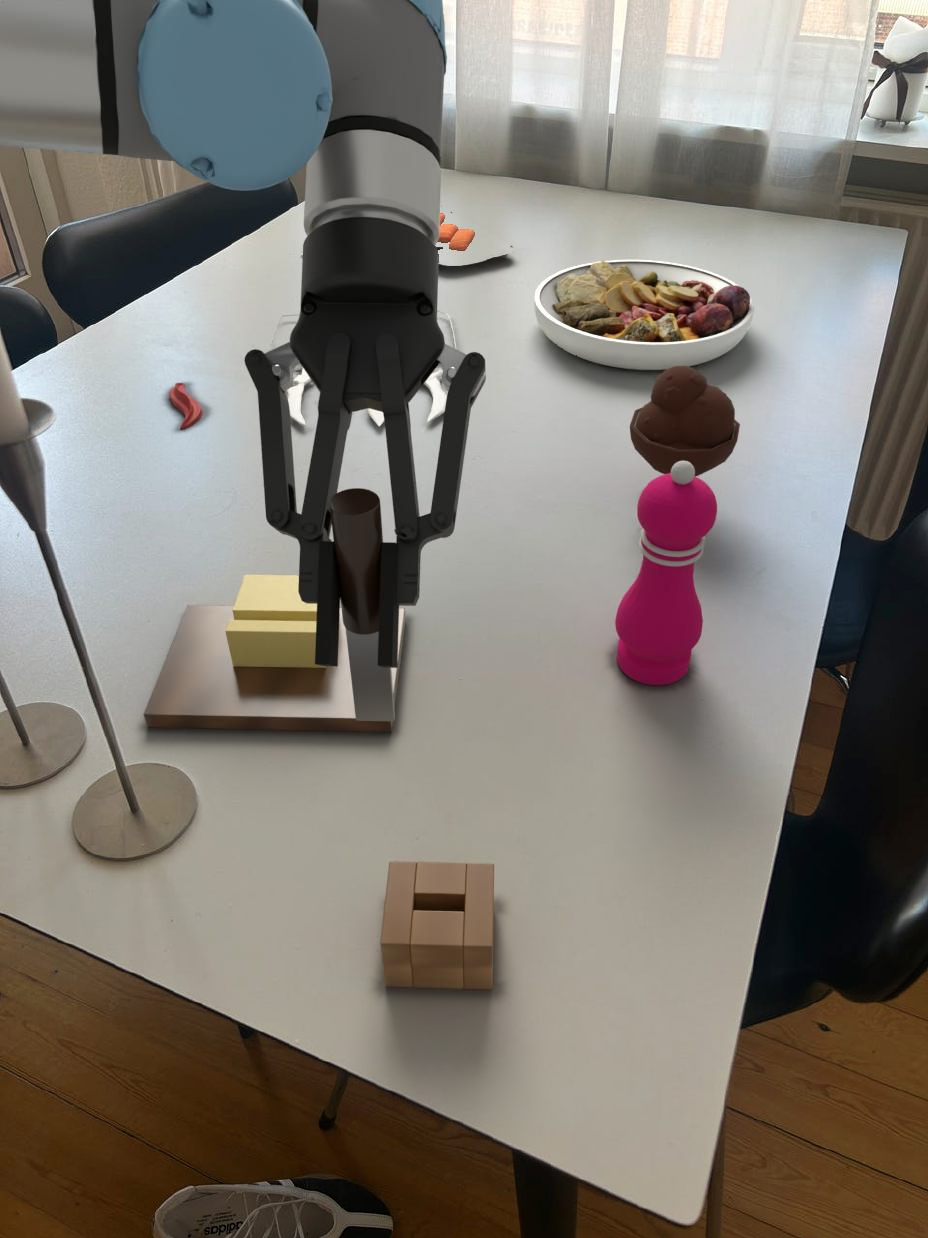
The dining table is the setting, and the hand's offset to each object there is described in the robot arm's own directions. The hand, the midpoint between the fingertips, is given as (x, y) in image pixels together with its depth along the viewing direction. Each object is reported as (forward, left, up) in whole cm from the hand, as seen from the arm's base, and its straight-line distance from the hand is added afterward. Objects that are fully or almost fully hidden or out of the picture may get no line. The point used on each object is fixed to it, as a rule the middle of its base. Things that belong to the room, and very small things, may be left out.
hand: (357, 665), depth 52 cm
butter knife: (0, +4, -8) cm, 9 cm away
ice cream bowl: (+26, +50, -22) cm, 60 cm away
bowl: (+27, +94, -22) cm, 100 cm away
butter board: (-11, +23, -22) cm, 34 cm away
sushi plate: (-10, +126, -22) cm, 128 cm away
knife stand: (+4, -3, -22) cm, 23 cm away
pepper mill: (+21, +25, -22) cm, 39 cm away
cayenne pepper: (-32, +71, -22) cm, 81 cm away
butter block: (-11, +27, -21) cm, 36 cm away
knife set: (-11, +82, -22) cm, 85 cm away
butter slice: (-11, +22, -21) cm, 32 cm away
